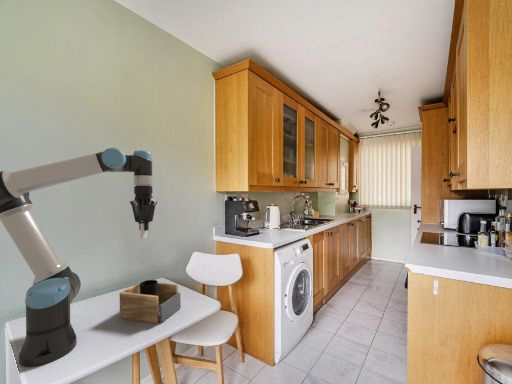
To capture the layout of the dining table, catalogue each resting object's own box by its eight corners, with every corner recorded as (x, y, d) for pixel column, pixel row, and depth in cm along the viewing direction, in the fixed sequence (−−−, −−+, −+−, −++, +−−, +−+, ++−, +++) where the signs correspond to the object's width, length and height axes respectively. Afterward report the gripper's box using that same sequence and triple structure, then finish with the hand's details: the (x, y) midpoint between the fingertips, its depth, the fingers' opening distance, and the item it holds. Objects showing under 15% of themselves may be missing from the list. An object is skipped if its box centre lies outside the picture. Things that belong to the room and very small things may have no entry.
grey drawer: (161, 322, 101) (161, 305, 101) (126, 317, 106) (126, 301, 106) (180, 307, 114) (180, 292, 114) (148, 303, 119) (148, 289, 119)
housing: (156, 323, 101) (156, 297, 101) (119, 318, 106) (119, 293, 106) (178, 307, 115) (177, 284, 115) (144, 303, 120) (144, 280, 120)
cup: (151, 313, 106) (150, 286, 106) (135, 312, 108) (135, 285, 108) (161, 305, 114) (161, 280, 114) (147, 304, 115) (146, 279, 115)
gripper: (161, 185, 111) (161, 236, 111) (137, 186, 115) (138, 235, 114) (149, 184, 104) (150, 239, 104) (125, 185, 108) (125, 238, 107)
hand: (144, 237), depth 109 cm, fingers closed
